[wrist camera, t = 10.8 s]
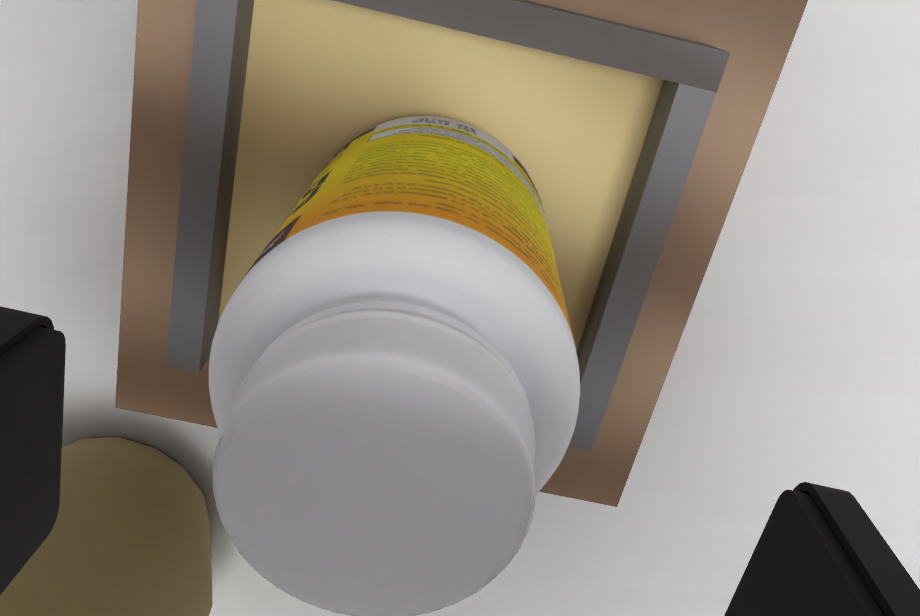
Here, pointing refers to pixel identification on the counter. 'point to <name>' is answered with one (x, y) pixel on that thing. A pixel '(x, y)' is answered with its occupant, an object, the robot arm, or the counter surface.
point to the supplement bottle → (395, 375)
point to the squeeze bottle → (119, 539)
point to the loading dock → (466, 100)
